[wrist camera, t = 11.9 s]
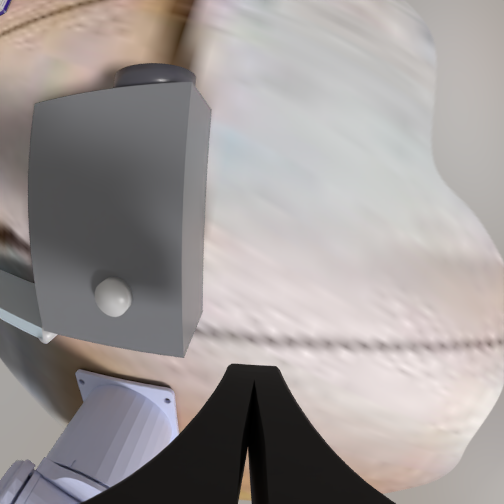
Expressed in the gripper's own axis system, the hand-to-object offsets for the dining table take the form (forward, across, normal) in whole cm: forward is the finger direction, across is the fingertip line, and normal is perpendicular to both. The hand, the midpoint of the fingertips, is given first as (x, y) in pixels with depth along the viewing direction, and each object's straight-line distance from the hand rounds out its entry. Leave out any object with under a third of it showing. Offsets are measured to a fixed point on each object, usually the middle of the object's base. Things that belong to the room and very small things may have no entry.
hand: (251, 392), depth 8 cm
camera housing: (+9, +7, -4) cm, 12 cm away
